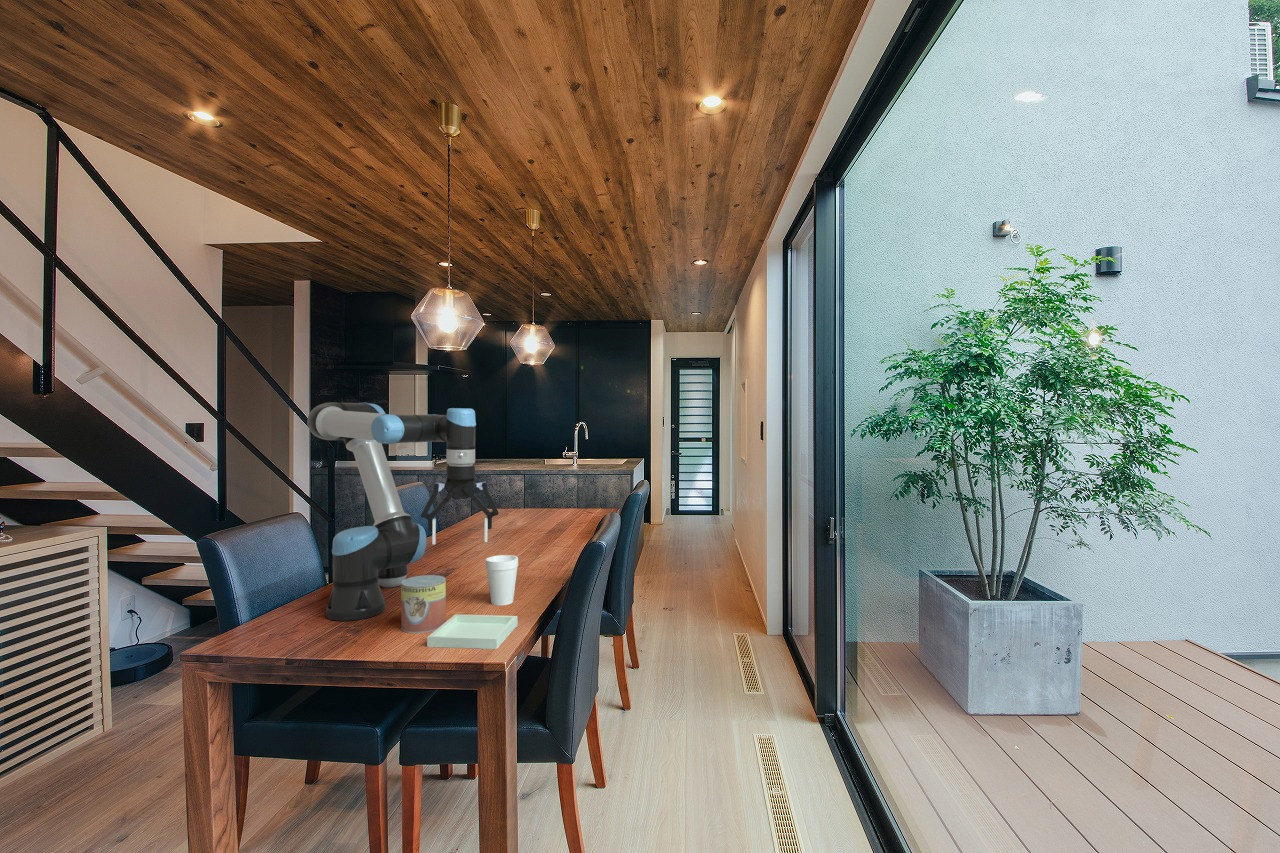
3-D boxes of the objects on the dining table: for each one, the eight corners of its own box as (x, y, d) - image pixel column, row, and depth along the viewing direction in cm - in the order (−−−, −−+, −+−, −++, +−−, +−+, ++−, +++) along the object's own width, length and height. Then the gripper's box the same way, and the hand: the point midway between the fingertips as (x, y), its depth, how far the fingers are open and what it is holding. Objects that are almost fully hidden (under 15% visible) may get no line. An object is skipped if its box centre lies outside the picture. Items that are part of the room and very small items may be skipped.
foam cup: (499, 609, 177) (499, 563, 177) (479, 603, 182) (479, 559, 182) (525, 601, 184) (524, 557, 184) (504, 595, 190) (504, 553, 190)
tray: (427, 646, 148) (427, 636, 148) (455, 623, 165) (455, 614, 165) (496, 649, 146) (496, 639, 146) (517, 625, 163) (517, 616, 163)
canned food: (393, 633, 157) (393, 586, 157) (411, 618, 169) (411, 574, 169) (437, 633, 157) (436, 586, 157) (452, 619, 168) (452, 575, 168)
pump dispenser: (401, 589, 197) (400, 542, 197) (369, 589, 197) (368, 542, 197) (413, 581, 207) (413, 536, 207) (382, 581, 208) (382, 536, 207)
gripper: (411, 466, 161) (410, 547, 162) (508, 465, 169) (507, 542, 169) (413, 464, 168) (412, 541, 169) (506, 463, 176) (505, 537, 176)
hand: (460, 542), depth 169 cm, fingers open, 13 cm apart
